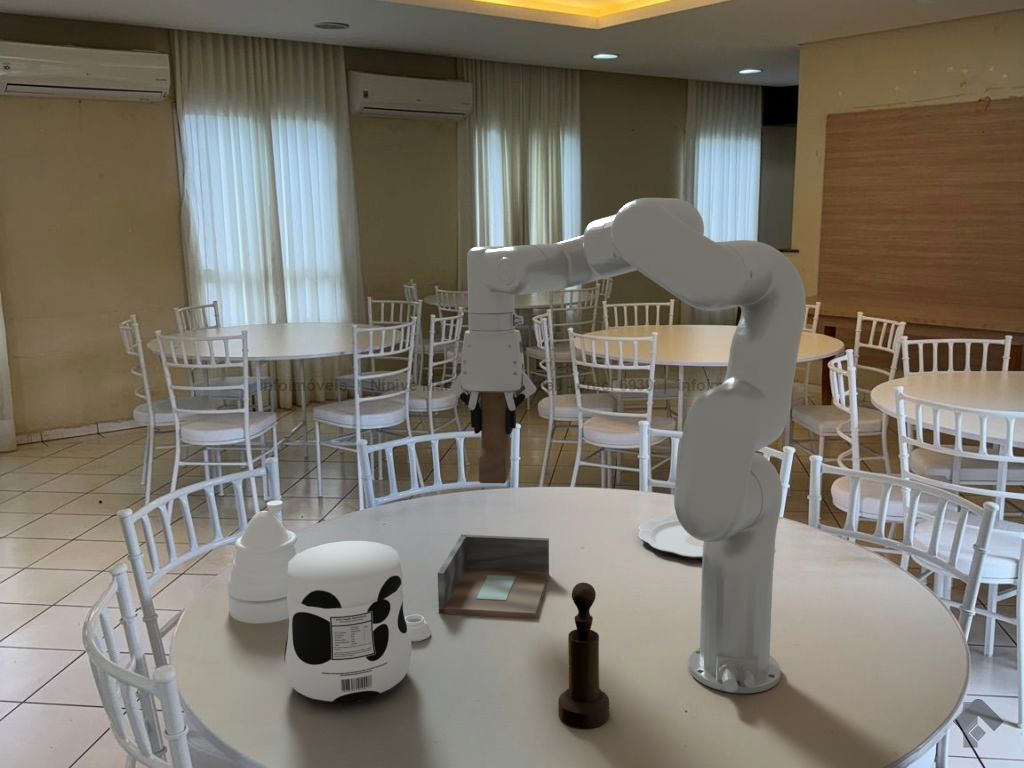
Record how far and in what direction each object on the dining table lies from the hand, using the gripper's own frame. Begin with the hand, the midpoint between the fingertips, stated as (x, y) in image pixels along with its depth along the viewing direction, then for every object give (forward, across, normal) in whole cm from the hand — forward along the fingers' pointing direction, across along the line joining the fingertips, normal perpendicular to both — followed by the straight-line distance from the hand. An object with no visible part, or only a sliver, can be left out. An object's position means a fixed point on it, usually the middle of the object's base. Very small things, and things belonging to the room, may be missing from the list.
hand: (493, 431), depth 147 cm
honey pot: (+29, +37, +10) cm, 48 cm away
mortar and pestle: (+29, -18, +36) cm, 50 cm away
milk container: (+29, +15, +32) cm, 46 cm away
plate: (+29, -36, -30) cm, 55 cm away
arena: (+29, 0, 0) cm, 29 cm away
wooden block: (+8, 0, 0) cm, 8 cm away
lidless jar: (+29, +10, +17) cm, 35 cm away
